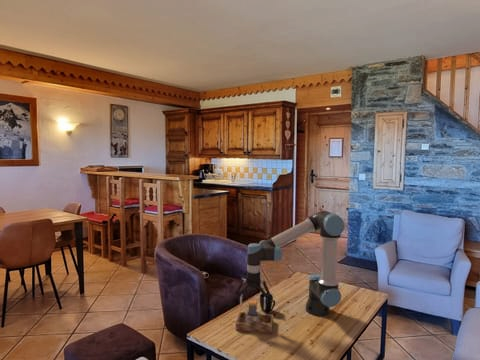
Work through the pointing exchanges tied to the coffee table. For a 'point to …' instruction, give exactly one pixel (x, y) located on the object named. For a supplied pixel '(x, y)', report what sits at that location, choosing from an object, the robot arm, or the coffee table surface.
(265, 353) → the coffee table surface
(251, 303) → the connector
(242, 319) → the box
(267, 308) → the mug
